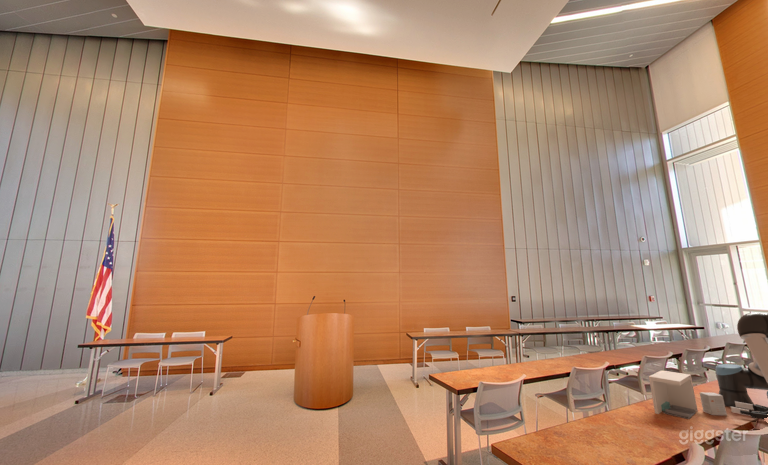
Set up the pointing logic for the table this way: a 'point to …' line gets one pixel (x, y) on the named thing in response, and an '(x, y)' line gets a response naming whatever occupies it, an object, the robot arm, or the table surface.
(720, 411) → the small box
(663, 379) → the cabinet
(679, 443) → the table surface
